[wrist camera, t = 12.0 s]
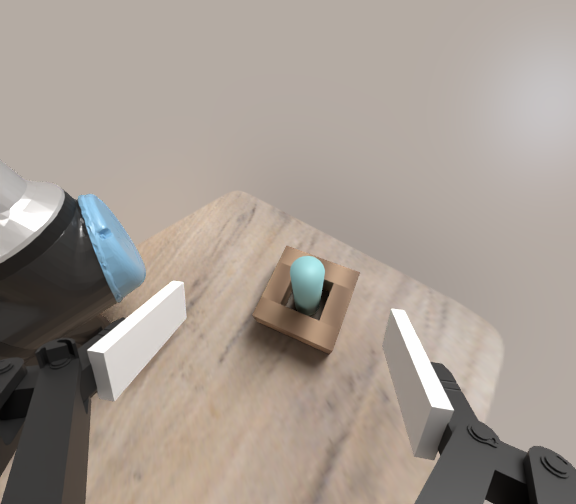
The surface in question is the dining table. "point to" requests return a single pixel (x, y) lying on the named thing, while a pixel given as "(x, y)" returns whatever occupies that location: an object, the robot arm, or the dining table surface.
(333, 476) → the dining table surface
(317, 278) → the dowel
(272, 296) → the socket block
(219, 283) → the dining table surface
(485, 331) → the dining table surface
